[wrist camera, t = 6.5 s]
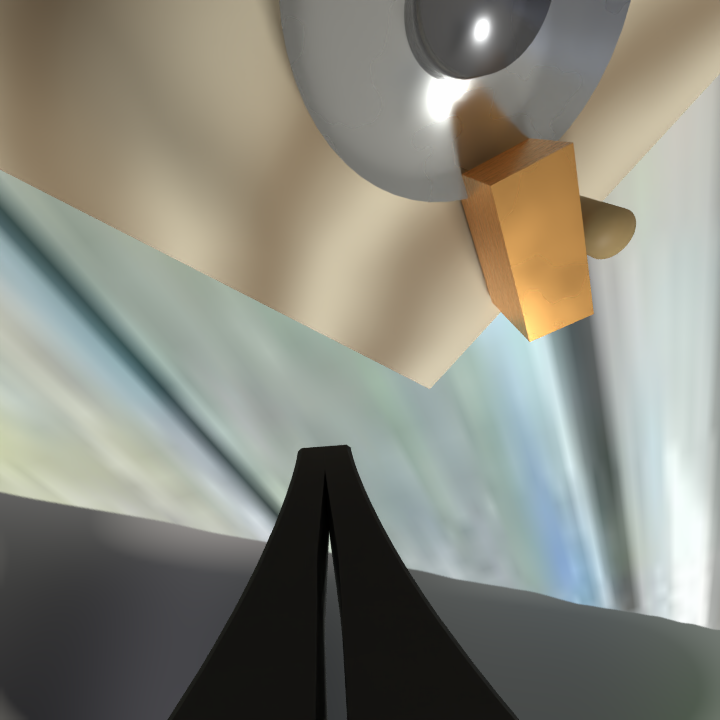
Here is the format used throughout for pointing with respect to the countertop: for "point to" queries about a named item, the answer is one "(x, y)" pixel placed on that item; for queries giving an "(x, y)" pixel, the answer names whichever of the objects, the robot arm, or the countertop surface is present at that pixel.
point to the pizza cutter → (468, 123)
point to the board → (298, 160)
